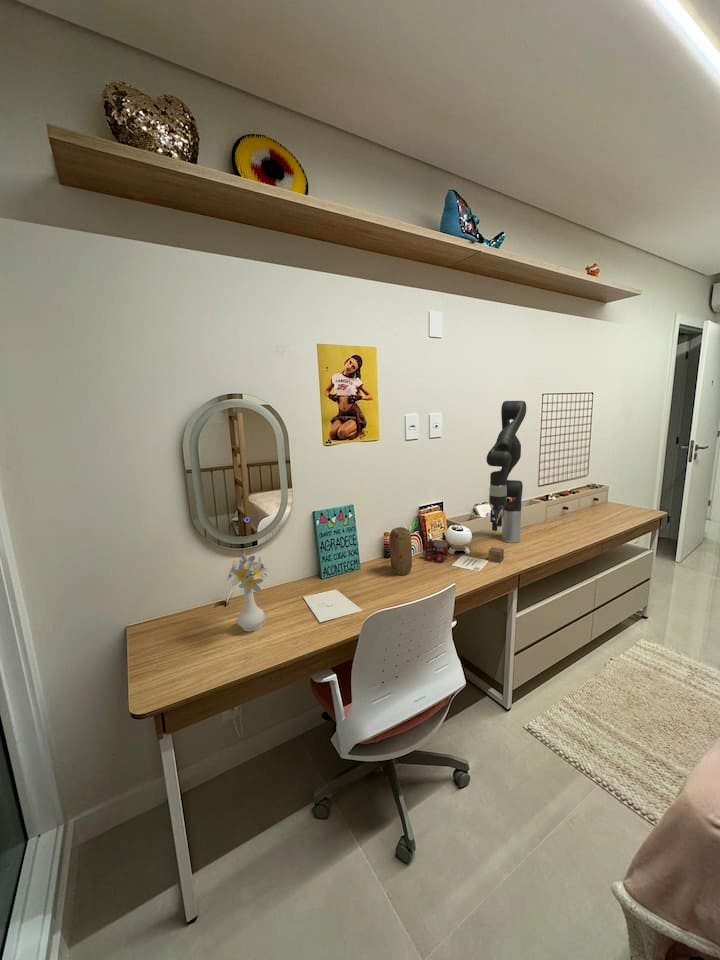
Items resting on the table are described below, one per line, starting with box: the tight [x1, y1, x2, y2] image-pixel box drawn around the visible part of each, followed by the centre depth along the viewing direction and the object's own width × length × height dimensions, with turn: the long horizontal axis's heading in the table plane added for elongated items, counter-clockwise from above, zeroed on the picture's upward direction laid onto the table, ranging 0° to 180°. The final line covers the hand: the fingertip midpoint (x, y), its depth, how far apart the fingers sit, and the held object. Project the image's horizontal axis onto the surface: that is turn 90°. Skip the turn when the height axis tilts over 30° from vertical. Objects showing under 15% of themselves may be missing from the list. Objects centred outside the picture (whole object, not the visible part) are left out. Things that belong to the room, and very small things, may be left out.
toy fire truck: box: [422, 538, 449, 564], centre depth 180 cm, size 7×12×10 cm, turn 62°
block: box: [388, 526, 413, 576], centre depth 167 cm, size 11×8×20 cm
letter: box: [451, 555, 490, 573], centre depth 174 cm, size 14×13×1 cm
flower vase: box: [226, 553, 269, 633], centre depth 127 cm, size 13×18×25 cm
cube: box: [488, 546, 505, 564], centre depth 176 cm, size 6×6×6 cm
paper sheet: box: [302, 589, 364, 623], centre depth 144 cm, size 24×29×1 cm
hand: (497, 528), depth 174 cm, fingers open, 7 cm apart
